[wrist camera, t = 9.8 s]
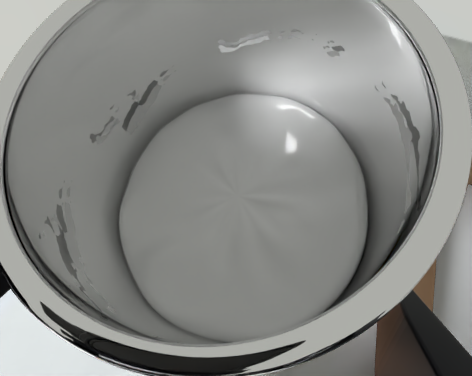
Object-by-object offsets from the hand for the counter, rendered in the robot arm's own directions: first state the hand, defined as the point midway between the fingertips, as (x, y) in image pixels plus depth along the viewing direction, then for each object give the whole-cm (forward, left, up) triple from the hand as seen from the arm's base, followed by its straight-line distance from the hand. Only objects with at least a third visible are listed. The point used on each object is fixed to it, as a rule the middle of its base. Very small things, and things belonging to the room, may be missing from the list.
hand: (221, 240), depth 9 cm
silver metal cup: (0, +1, -10) cm, 10 cm away
